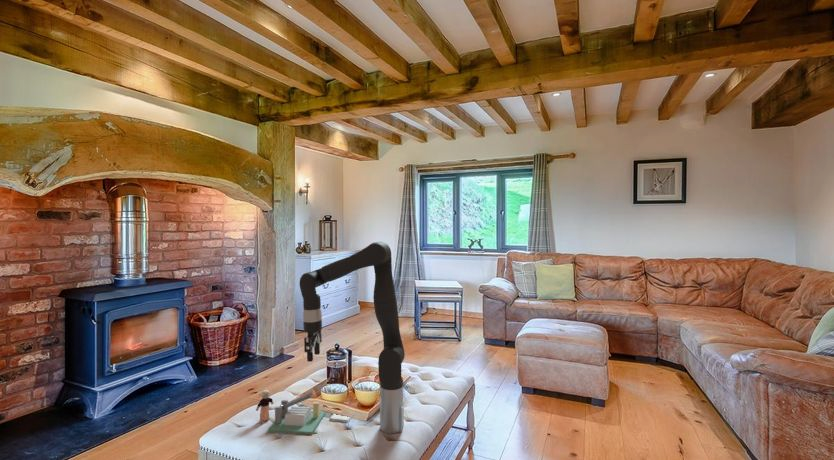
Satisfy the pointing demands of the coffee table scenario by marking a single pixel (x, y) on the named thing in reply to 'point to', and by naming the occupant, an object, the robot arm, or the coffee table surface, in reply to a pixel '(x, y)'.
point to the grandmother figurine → (264, 406)
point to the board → (298, 428)
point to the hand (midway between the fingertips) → (313, 357)
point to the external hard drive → (340, 418)
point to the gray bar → (297, 400)
